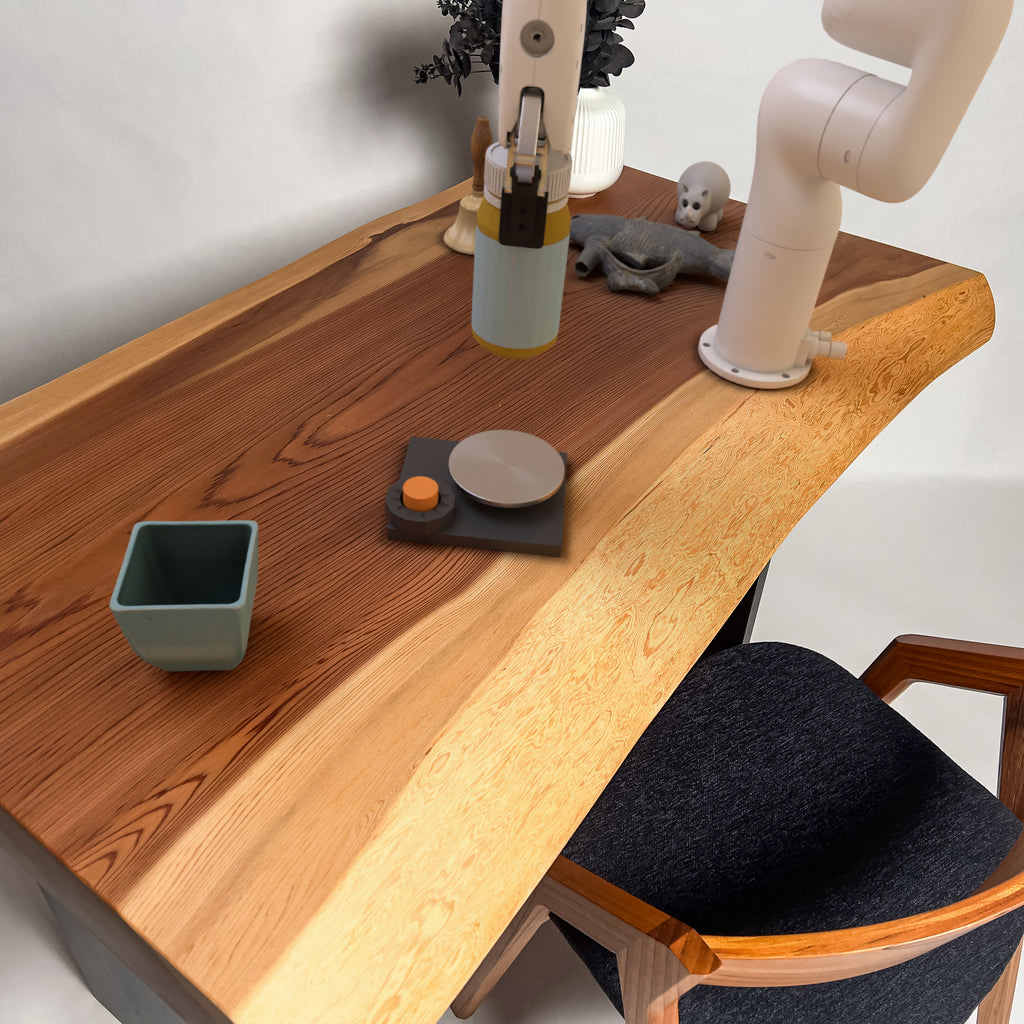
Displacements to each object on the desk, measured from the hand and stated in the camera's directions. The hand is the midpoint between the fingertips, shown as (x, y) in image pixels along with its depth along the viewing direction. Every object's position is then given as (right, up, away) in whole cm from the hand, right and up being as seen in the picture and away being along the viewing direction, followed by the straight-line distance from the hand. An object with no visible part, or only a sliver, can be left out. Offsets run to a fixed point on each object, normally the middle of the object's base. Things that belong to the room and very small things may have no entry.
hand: (524, 219), depth 71 cm
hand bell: (-6, +14, +55) cm, 57 cm away
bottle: (-1, -8, +7) cm, 10 cm away
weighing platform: (-1, -18, +15) cm, 23 cm away
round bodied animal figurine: (+24, +17, +62) cm, 69 cm away
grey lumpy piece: (+16, +9, +52) cm, 55 cm away
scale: (-4, -20, +17) cm, 27 cm away
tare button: (-9, -21, +12) cm, 25 cm away
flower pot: (-24, -32, +2) cm, 40 cm away
